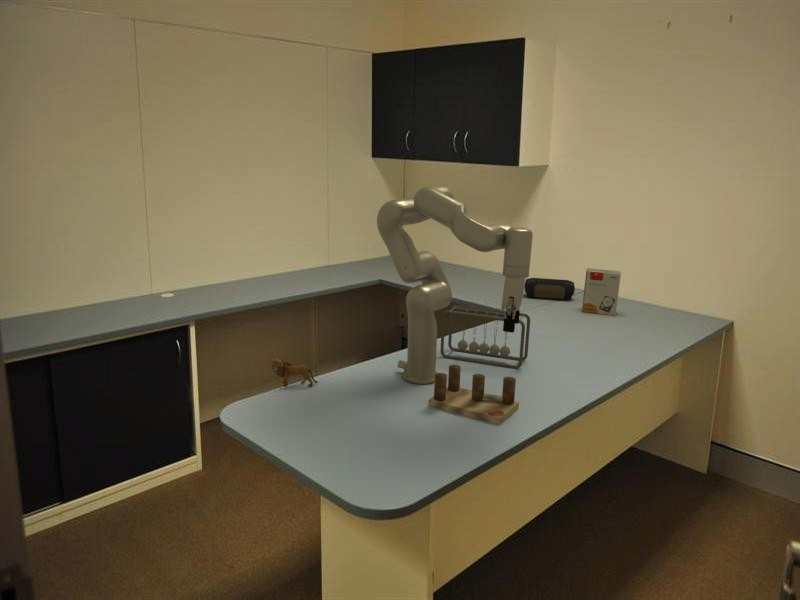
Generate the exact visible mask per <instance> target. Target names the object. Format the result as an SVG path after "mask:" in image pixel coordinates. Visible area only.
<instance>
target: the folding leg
mask: <svg viewBox="0 0 800 600" xmlns="http://www.w3.org/2000/svg"><path fill="white" fill-rule="evenodd" d="M485 380H486V376H485V375H484V374H481V373H475V374H473V375H472V381H471V382H472V383H471V384H472V385H471V391H472V399H473V400H489V401H499V402H503V403H507V404H512V403H514V401H515V397H516V394H515V393H516V383H517V382H516V380H517V379H516V378H515V377H513V376H505V377H503V379H502V391H501V392H502V394H501V395H498V394H489V393H485Z"/></svg>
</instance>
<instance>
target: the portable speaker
mask: <svg viewBox="0 0 800 600" xmlns="http://www.w3.org/2000/svg"><path fill="white" fill-rule="evenodd" d="M575 289H576V286H575V282H573V281H572V280H568V279H557V278H556V279H555V278H543V277H541V278H540V277H530V278H529V277H528V278H526V280H525V281H524V292H525V294H526V296H527V297H530V298H536V297H537V298H540V299H550V300H551V299H552V300H563V299H564V300H565V301H566V300H570V299H572V297H573V296H574V294H575Z"/></svg>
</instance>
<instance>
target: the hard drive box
mask: <svg viewBox="0 0 800 600" xmlns="http://www.w3.org/2000/svg"><path fill="white" fill-rule="evenodd" d="M621 276H622V273H621V271H620V270H610V269H608V270H607V269H599V268H588V267H587V268H586V271H585V280H584V289H583V299H582V307H581V312H582V313H589V314H598V315H600V314H601V315H606V314H608V315H607V316H616V314H617V306H618V299H619V298H618V297H619V290H620V283H621Z"/></svg>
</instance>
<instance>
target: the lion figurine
mask: <svg viewBox="0 0 800 600" xmlns="http://www.w3.org/2000/svg"><path fill="white" fill-rule="evenodd" d="M270 363H271V365H270V370H271V372H272V373H273V374H275V375H277V377H279V378H283V381H282V382H281V384H282V386H283V388H287V387H288V385H289V382H288V381H289V377H292V378H296V377H299V376H302V378H303V379H304V380H301V383H300V384H305V383H306V382H309V384H308V385H307V386H308V387H310V388H311V387H313V386H314V384H313V382H314V383H315V384H317V383H319V382H318V381H317V380H315V378H314V375H313V371H312V369H311V368H310V367H309V366H308V365H306V364H299V365H293V364H291V363H290V362H288V361H287V360H284V359H281V358H274V359H273V360H272V361H271V362H270ZM309 373H310V375H309Z"/></svg>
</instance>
